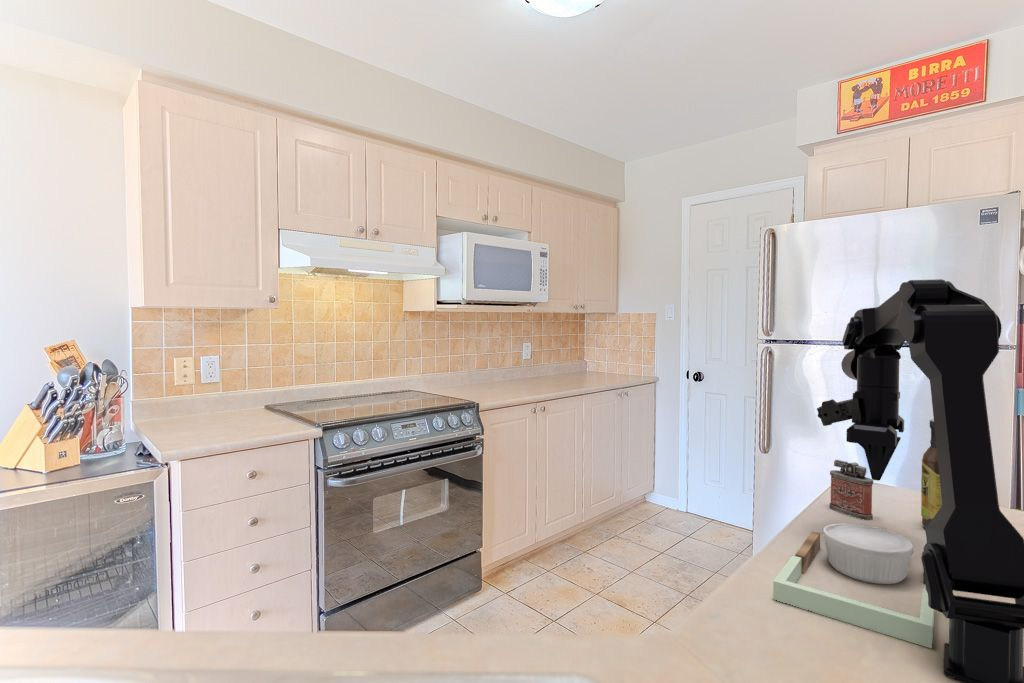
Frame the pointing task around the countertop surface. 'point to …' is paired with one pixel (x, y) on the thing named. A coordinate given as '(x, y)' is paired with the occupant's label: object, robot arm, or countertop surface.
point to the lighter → (851, 490)
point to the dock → (854, 608)
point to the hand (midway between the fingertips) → (876, 479)
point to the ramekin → (868, 552)
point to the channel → (813, 551)
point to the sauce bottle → (930, 480)
